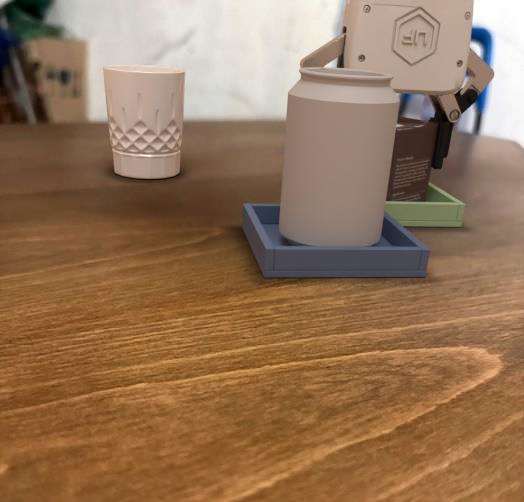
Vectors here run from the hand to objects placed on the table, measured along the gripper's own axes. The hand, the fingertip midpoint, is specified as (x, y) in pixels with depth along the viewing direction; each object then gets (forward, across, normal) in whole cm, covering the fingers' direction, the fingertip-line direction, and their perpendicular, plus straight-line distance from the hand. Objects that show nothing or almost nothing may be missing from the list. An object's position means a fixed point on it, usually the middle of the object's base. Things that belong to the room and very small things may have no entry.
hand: (385, 164), depth 60 cm
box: (+4, 0, 0) cm, 4 cm away
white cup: (+4, -21, +13) cm, 25 cm away
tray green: (+4, 0, 0) cm, 4 cm away
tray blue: (+4, -8, -12) cm, 15 cm away
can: (+4, -8, -12) cm, 15 cm away
